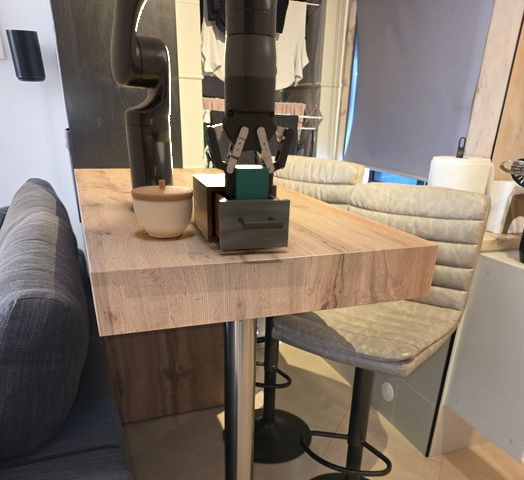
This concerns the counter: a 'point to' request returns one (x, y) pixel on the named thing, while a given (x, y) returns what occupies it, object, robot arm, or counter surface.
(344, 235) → the counter surface
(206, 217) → the cabinet
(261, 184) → the block
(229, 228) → the drawer
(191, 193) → the trinket box
